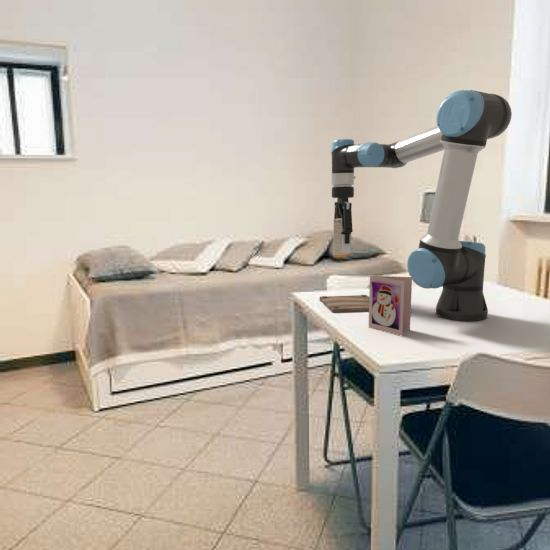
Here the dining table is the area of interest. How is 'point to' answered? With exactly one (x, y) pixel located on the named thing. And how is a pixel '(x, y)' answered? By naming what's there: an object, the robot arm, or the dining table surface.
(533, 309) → the dining table surface
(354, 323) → the dining table surface
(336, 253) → the supplement box
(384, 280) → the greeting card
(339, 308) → the plate
